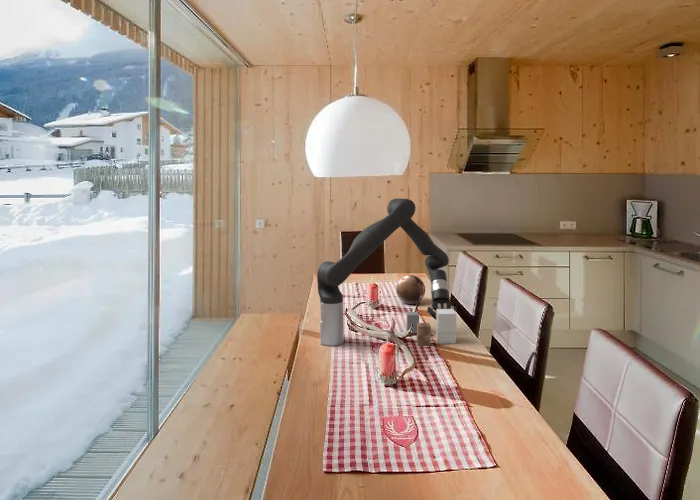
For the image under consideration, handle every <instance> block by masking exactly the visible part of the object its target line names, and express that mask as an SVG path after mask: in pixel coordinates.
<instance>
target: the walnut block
mask: <svg viewBox="0 0 700 500" xmlns="http://www.w3.org/2000/svg"><path fill="white" fill-rule="evenodd" d="M431 339H432V326H431V323H430V322H419V323H417V333H416V343H417V346H418V347H429V346H430V347H431V346H432V340H431Z"/></svg>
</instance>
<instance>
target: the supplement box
mask: <svg viewBox="0 0 700 500" xmlns="http://www.w3.org/2000/svg"><path fill="white" fill-rule="evenodd" d="M435 313H436V321H435V322H436V327H435V328H436V329H435V339H436V341H437V343H438V344H440V345H443V344H444V345H445V344H452V345H453V344H457V313H456V312H455V311H454V309H451V308H450V309H436V311H435Z"/></svg>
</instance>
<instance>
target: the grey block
mask: <svg viewBox="0 0 700 500" xmlns="http://www.w3.org/2000/svg"><path fill="white" fill-rule="evenodd" d="M412 322H413V327H412V333H411V334H417V323H420V313H419V311H406V332H407V331H408V330H409V329H410V327H411V324H412Z"/></svg>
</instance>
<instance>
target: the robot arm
mask: <svg viewBox="0 0 700 500" xmlns="http://www.w3.org/2000/svg"><path fill="white" fill-rule="evenodd" d="M416 208H417V207H416V204H415V202H414V201H413V200H411V199H409V198H399V197H398V198H392V199H391V200H389V202H388V203H387V208H386V209H387V210H386V212H387V213H388V214H387V215H386V216H385V217H384V218H382V219H380V220H378V221H375V222H374V223H372V224H370V225H369V226H367V227H365V228H364V229H363V230H362V231H361V232H360V233H359V234H357V236H356V237H355V238H354V239H353V241H352V244H351V245H350V247H349V249H348V251H347V252H346V254H345V255H343V256H342V257H341V258H340V259H339V260H337V261H336V262H334V261H329V260H328V261H327V260H326V261H324V262H322V263H321V264H319V266H318V269H317V273H316V275H317V276H316V279H317V282H316V283H317V292H318V296H319V302H320V306H319V307H320V322H319V328H320V329H319V330H320V345H322V346H323V345H324V346H331V347H332V346H340V345H343V344H344V342H345V341H344V340H345V336H344V335H345V334H344V295H343V293H342V291H341V289H340V288H339V286H340V285H342V284H343V283H344V282H345V281H347V279H348V278H349V277H350V275H351V274H352V273H353V272H354V271H355V270H356V269H357V267H359V266H360V264H361V263H363V262H364V261H365V260H366V259H367V258H368V257H369V256H370V255H371V254H372V253H374V252H375V251H376V250H377V249H378V248H379V247H380V246H381V245H382V244H383V243H384V242H385V240H387V239H388V238H389V237H390V236H391V235H393V233H394V232H396V230H398V229H400V228H401V229H402V230H403V231H404V232H405V233H406V234H407V236H408V237H409V238H410V239H411V241H412V242H413V244H414V245H415V246H416V247H417V249H418V250H419V252H420V253H421V254H422V255H423V256H426V258H425V260H424V265H425V267H426V269H427V271H428V274H429V277H430V294H431V306H428V307H427V309H426V312H427V313H428V314H429V315H430V316H431V317H432V318H433V319H434V320H436V309H454V311H455V313H456V312H457V306H453V305H452V303H451V299H450V291H449V284H448V279H447V273H446V271H445V270H444V269H442V268H444V267H447V266H448V265H449V263H450V259H449V257H448V255H447V253H446V252H445V251H444V250H443V249H441V248H440V247H439V246H437V245H436V244H435V243H434V242H433V240H432V239H431V237H430V235H429V234H428V233H427V232H426V231H425V230H424V229H423V228H421V227H420V226H419V225H418V224H417V223H416V222H415V221H414V220H413V219H412V217H414V215H415V212H416Z"/></svg>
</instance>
